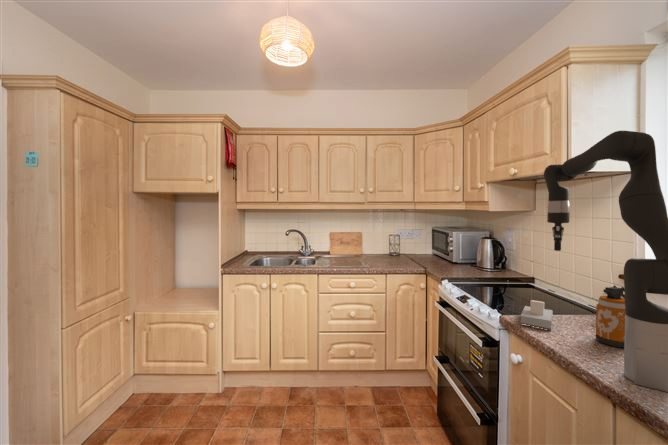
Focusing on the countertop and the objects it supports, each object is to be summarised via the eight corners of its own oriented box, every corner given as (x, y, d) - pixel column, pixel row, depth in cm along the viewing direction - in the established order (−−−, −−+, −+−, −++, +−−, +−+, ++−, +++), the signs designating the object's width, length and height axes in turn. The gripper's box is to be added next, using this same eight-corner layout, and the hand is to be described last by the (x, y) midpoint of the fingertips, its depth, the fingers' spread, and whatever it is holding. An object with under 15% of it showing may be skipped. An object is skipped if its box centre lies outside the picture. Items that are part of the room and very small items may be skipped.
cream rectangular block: (543, 321, 120) (543, 303, 121) (530, 319, 123) (530, 301, 124) (543, 320, 124) (544, 302, 124) (531, 317, 126) (531, 300, 127)
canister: (589, 340, 106) (590, 284, 106) (608, 335, 110) (609, 282, 110) (621, 350, 98) (622, 290, 97) (640, 345, 102) (641, 287, 101)
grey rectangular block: (550, 331, 114) (551, 320, 114) (520, 325, 121) (520, 315, 120) (552, 319, 127) (552, 310, 127) (524, 314, 133) (525, 305, 133)
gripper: (570, 211, 118) (569, 252, 119) (569, 211, 129) (568, 248, 130) (546, 211, 123) (546, 250, 123) (548, 211, 134) (547, 247, 134)
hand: (557, 249), depth 126 cm, fingers open, 8 cm apart
